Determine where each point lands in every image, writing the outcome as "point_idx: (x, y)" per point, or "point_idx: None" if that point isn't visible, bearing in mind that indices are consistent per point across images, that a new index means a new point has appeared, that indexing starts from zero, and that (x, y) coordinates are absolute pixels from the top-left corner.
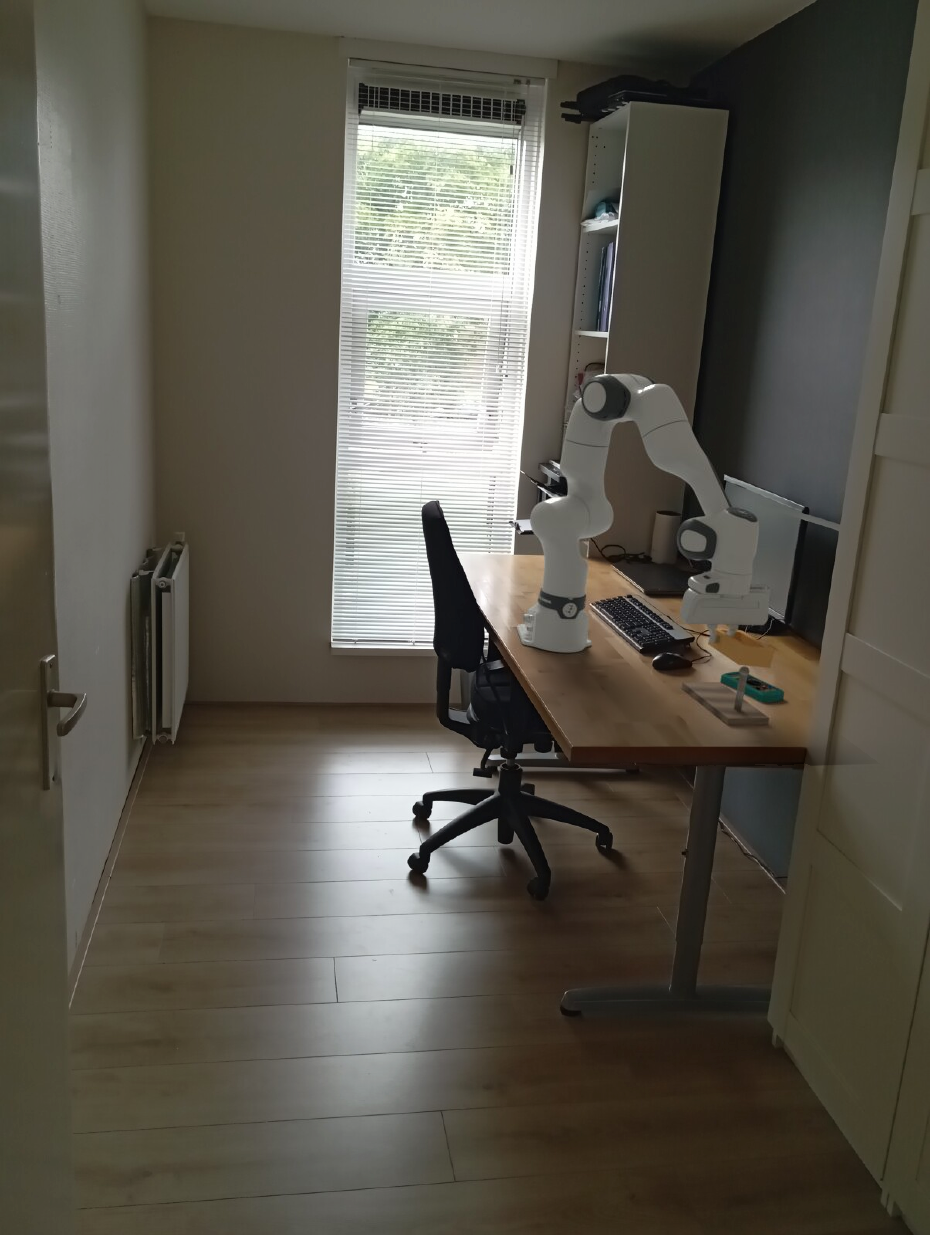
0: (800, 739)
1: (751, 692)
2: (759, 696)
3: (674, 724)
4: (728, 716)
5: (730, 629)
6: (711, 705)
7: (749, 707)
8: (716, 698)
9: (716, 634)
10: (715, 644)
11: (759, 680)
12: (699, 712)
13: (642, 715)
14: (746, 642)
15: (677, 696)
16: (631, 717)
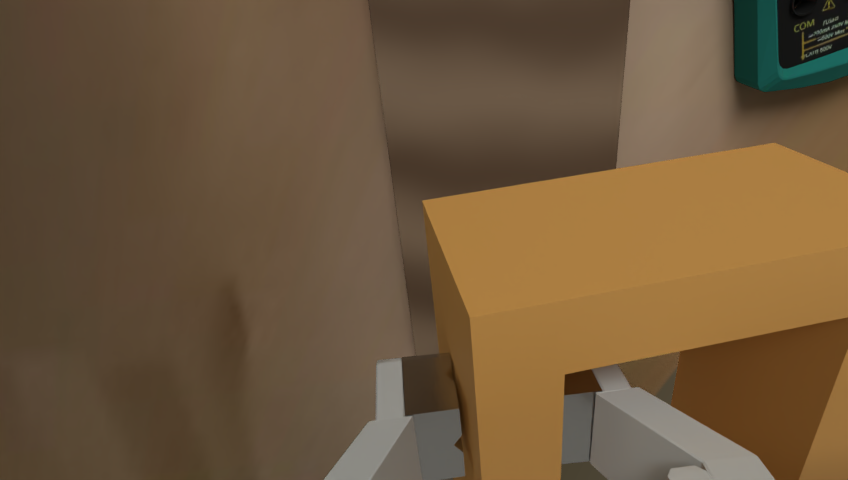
0: None
1: (748, 5)
2: (749, 72)
3: (194, 362)
4: (426, 348)
5: (662, 473)
6: (400, 240)
7: None
8: (467, 150)
9: (450, 431)
10: (443, 348)
11: None
12: (341, 239)
13: (59, 296)
14: (758, 408)
15: (285, 32)
16: (8, 320)
